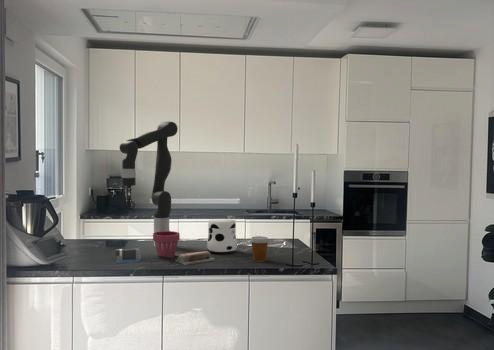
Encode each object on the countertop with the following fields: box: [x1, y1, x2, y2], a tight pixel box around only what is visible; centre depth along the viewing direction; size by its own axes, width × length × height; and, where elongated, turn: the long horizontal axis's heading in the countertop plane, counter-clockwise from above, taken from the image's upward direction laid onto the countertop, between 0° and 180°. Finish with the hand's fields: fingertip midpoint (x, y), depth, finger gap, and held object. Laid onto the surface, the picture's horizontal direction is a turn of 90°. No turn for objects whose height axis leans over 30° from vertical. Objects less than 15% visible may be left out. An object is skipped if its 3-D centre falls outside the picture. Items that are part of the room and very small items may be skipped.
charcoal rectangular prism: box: [115, 248, 136, 261], centre depth 241 cm, size 10×3×5 cm, turn 106°
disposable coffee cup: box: [250, 235, 270, 263], centre depth 247 cm, size 10×10×12 cm
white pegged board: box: [115, 247, 142, 265], centre depth 247 cm, size 12×22×4 cm, turn 17°
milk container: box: [206, 218, 238, 254], centre depth 268 cm, size 17×17×18 cm
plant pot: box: [152, 230, 181, 259], centre depth 254 cm, size 14×14×13 cm
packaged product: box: [174, 250, 216, 266], centre depth 244 cm, size 18×5×10 cm
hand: (128, 207), depth 264 cm, fingers closed
